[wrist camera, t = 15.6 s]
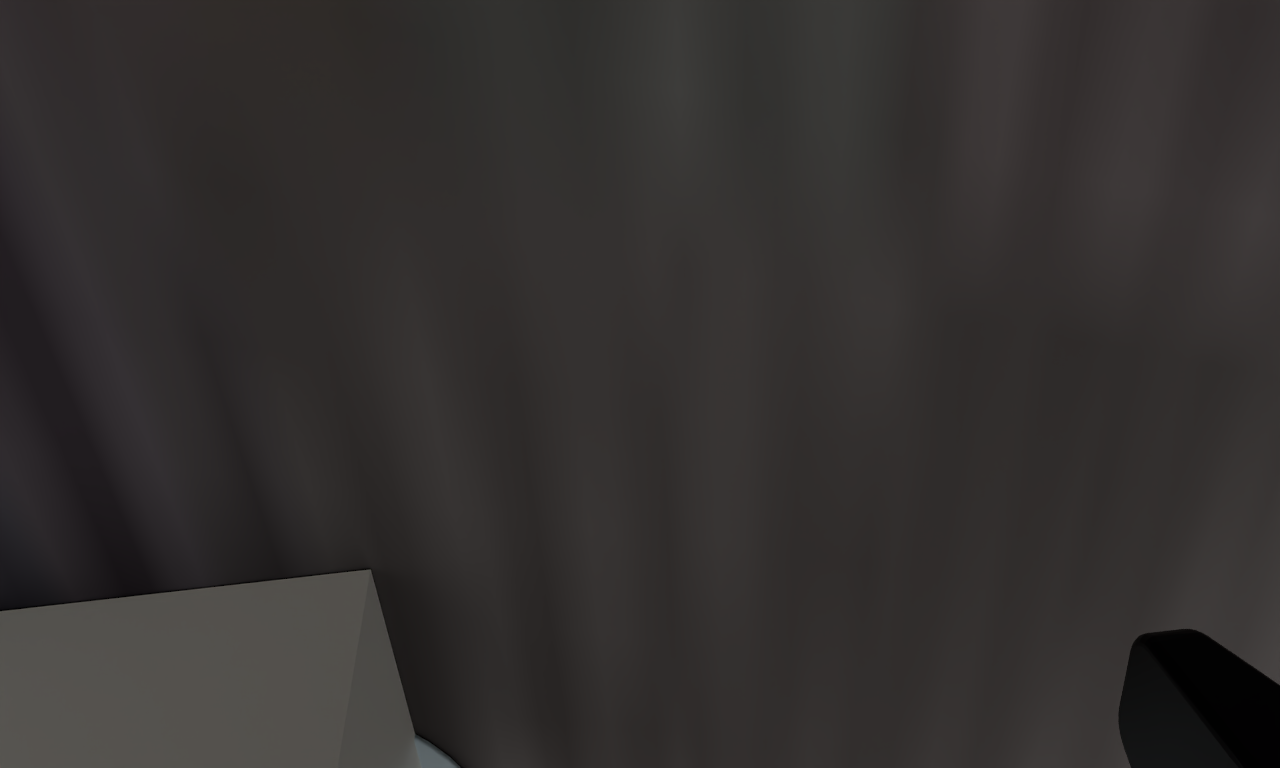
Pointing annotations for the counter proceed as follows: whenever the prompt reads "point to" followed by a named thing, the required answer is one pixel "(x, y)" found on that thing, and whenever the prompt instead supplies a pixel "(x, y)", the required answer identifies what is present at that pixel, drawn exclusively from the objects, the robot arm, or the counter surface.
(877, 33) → the counter surface
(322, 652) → the matte gray cube
